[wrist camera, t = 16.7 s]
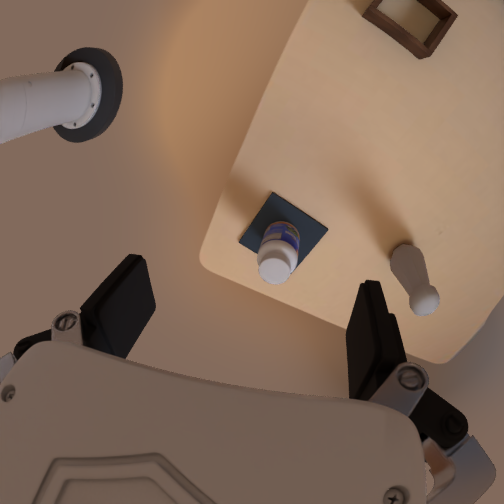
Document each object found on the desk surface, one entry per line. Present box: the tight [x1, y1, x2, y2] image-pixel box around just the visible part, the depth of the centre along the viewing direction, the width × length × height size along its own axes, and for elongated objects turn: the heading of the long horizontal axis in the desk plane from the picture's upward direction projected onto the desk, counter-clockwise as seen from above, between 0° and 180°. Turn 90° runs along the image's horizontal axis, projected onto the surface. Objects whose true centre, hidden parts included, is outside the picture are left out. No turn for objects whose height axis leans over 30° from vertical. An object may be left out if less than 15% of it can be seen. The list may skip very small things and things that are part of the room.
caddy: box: [362, 0, 458, 59], centre depth 22 cm, size 10×10×4 cm
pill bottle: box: [257, 221, 300, 284], centre depth 40 cm, size 5×5×10 cm
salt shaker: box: [390, 244, 440, 316], centre depth 36 cm, size 6×6×13 cm
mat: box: [239, 192, 328, 274], centre depth 44 cm, size 10×10×1 cm
